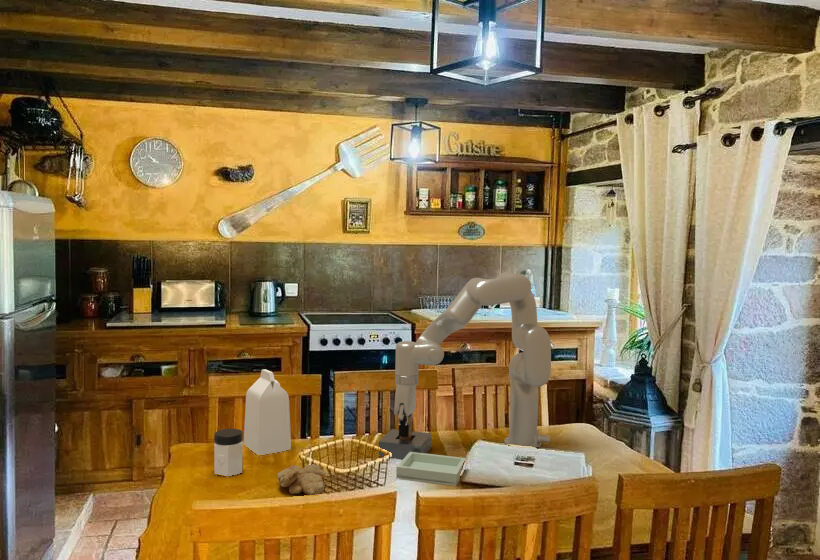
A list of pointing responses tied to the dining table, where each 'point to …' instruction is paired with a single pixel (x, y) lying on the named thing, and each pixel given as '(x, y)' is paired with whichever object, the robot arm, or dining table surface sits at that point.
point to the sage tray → (430, 468)
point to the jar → (228, 452)
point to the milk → (267, 416)
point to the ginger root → (302, 479)
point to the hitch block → (405, 444)
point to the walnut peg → (409, 429)
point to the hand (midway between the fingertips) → (405, 433)
